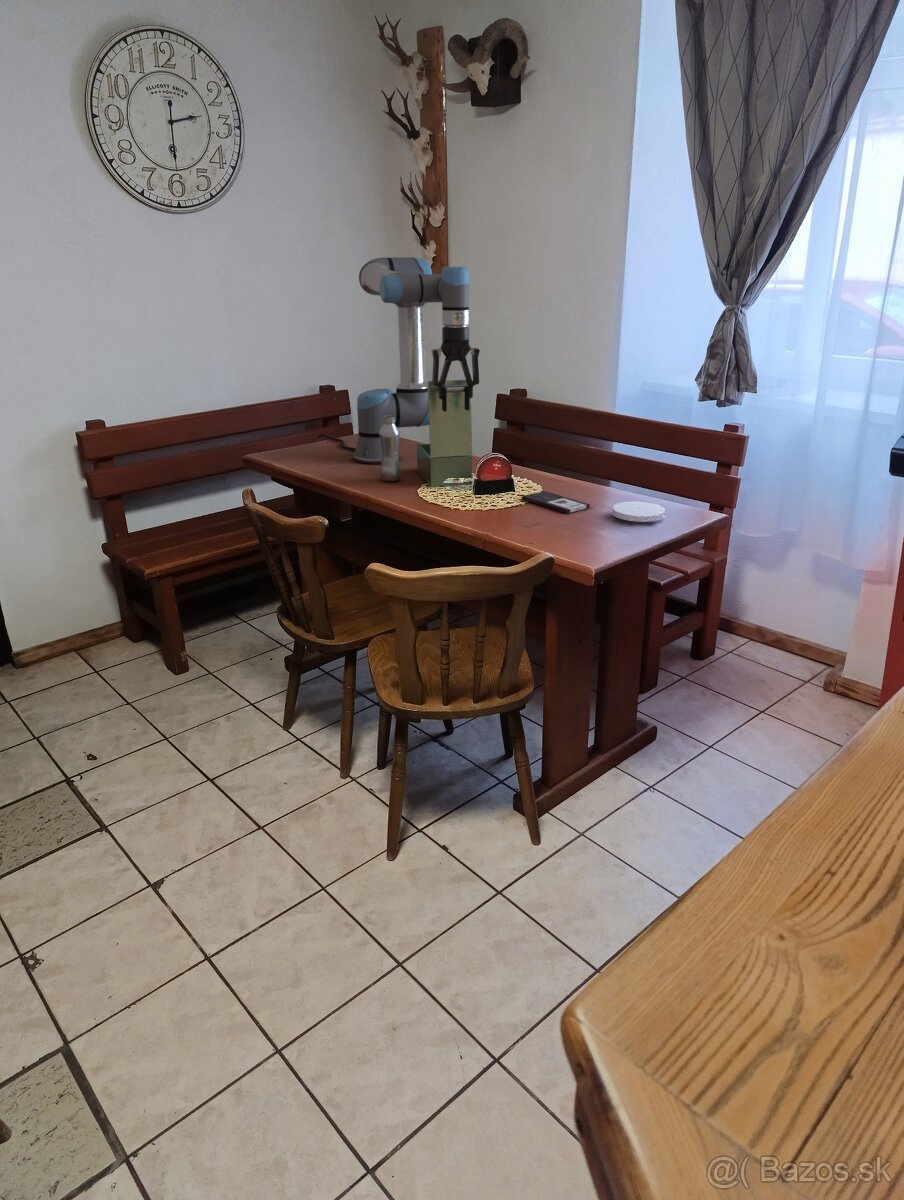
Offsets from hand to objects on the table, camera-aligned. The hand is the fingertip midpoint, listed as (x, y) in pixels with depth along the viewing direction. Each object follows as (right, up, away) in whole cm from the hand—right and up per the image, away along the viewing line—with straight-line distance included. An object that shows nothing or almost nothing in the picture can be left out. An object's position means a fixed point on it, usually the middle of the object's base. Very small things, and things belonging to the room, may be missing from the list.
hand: (455, 410), depth 235 cm
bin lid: (-2, -1, +8) cm, 8 cm away
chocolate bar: (+28, -28, -4) cm, 40 cm away
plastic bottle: (-20, -18, +20) cm, 34 cm away
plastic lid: (+49, -33, -17) cm, 62 cm away
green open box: (-4, -16, +24) cm, 29 cm away
